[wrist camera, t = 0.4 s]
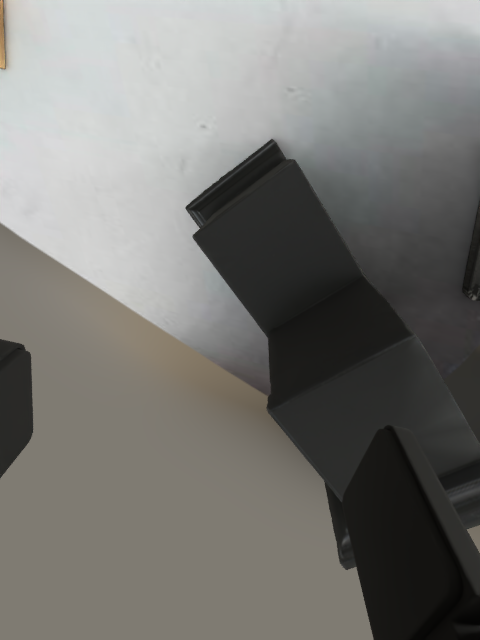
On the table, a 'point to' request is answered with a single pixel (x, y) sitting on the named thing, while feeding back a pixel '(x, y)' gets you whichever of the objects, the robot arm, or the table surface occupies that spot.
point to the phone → (473, 265)
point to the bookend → (329, 335)
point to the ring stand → (2, 37)
